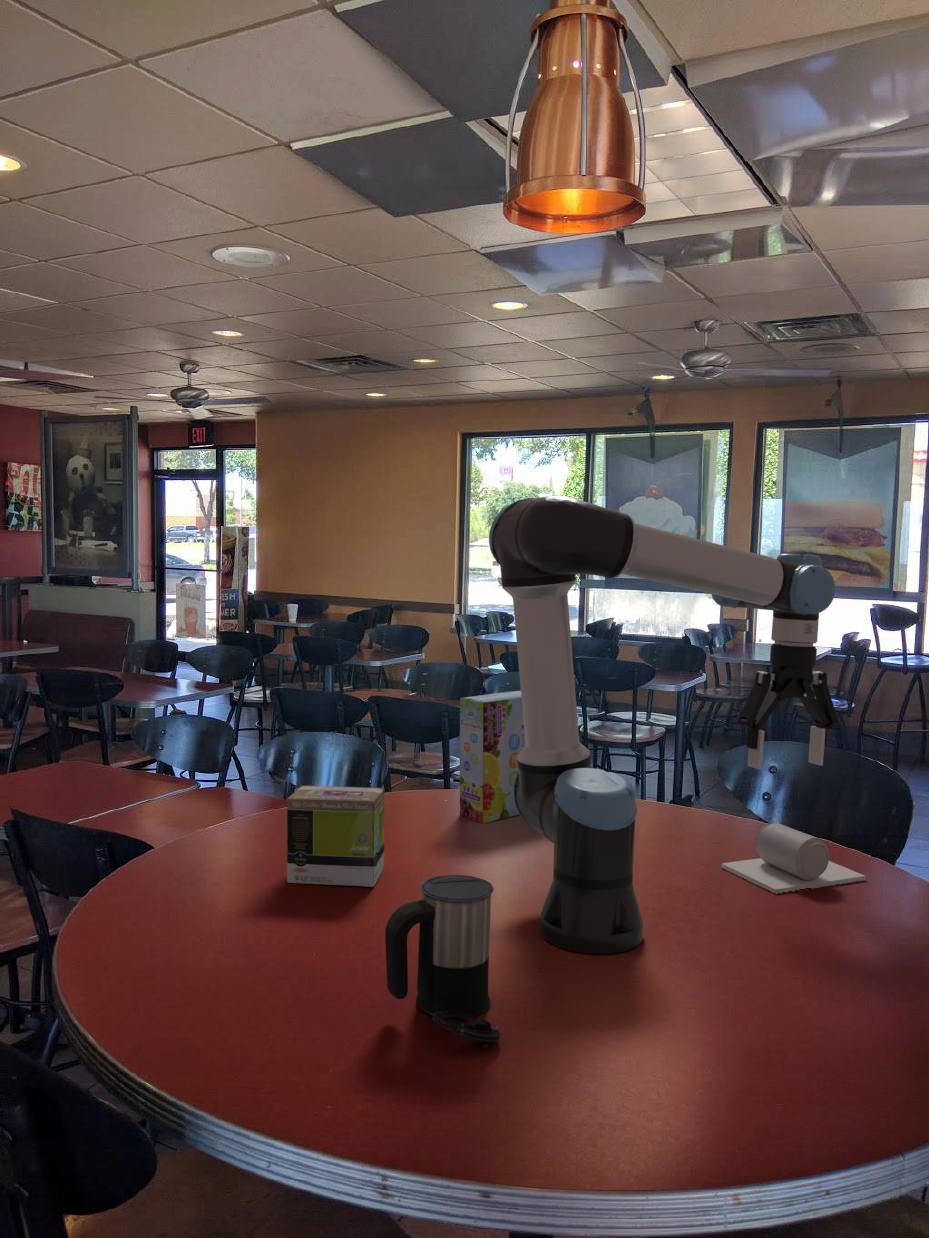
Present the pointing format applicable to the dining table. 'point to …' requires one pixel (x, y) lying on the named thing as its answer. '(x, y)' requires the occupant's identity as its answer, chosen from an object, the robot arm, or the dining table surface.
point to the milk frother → (446, 953)
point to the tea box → (335, 835)
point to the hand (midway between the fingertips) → (785, 765)
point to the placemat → (789, 876)
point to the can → (792, 851)
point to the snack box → (489, 754)
